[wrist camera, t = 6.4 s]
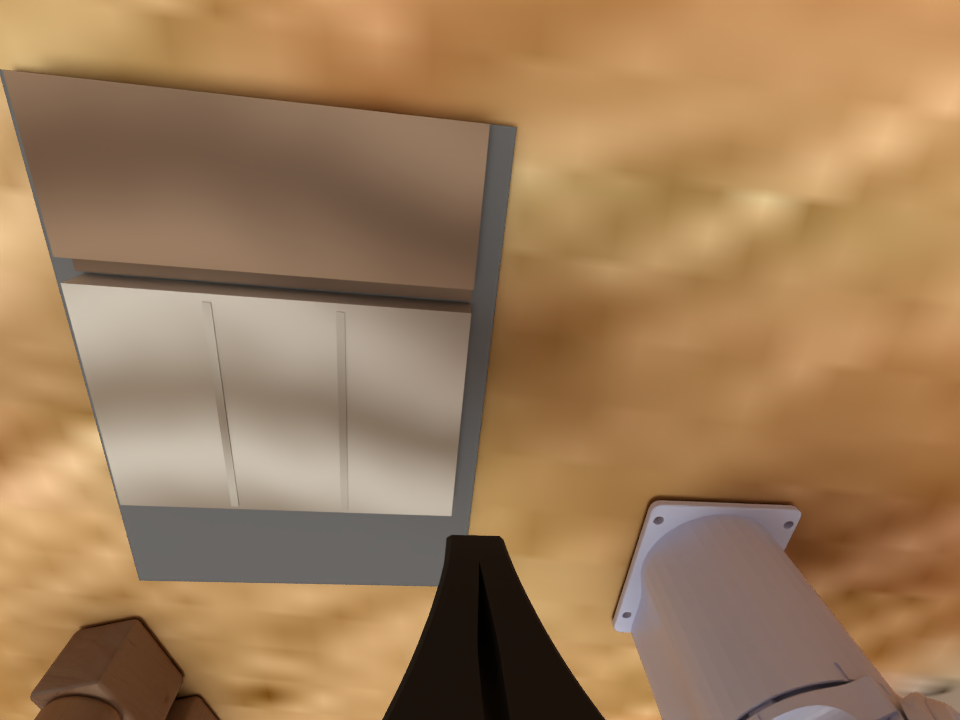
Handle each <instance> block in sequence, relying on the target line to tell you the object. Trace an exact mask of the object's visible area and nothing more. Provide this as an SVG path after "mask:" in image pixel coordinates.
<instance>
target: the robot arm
mask: <svg viewBox="0 0 960 720" xmlns="http://www.w3.org/2000/svg"><path fill="white" fill-rule="evenodd" d="M656 517H659V518H657V519H655V518H656ZM800 518H801V512H800V511H799V510H798V508H797V507H795V506H792V505H769V504H743V503H717V502H691V501H665V500H660V501H655V502H653V503H652V504H651V505H650V507H649V509H648V512H647V515H646V518H645V522H644V525H643V528H642V531H641V534H640V537H639V540H638V543H637V547H636V550H635V553H634V556H633V559H632V562H631V565H630V568H629V572H628V575H627V578H626V581H625V584H624V587H623V590H622V593H621V597H620V600H619V603H618V606H617V609H616V612H615V615H614V618H613V626H614V629H615V630H616V631H618V632H631V634H632V637H633V639H634V642H635V645H636V648H637V650H638V653H639V656H640V659H641V662H642V664H643V667H644V670H645V673H646V676H647V678H648V681H649V684H650V687H651V689H652V692H653V695H654V698H655V701H656V703H657V706H658V709H659V712H660V714H661V717H662V720H960V714H959V713H958V712H957V711H956V710H955V709H954V708H952V707H951V706H950V705H948V704H945V703H943V702H940V701H937V700H934V699H930V698H927V697H926V696H924V695H922V694H920V693H917V692H915V693H910V694H909V695H907V696H906V697H904V698H903V699H902V698H901V697H900V696H898V695H897V694H896V693H895V692H894V691H893V690H892V688H891V687H890V686H889V685H888V683H887V682H886V681H885V679H884V678H883V677H882V676H881V674H880V673H879V672H878V671H877V669H876V668H875V667H874V665H873V664H872V663H871V662H870V660H869V659H868V658H867V657H866V655H865V654H864V653H863V651H862V650H861V649H860V648H859V646H858V645H857V644H856V642H855V641H854V640H853V639H852V637H851V636H850V635H849V634H848V632H847V631H846V630H845V628H844V627H843V626H842V625H841V623H840V622H839V621H838V620H837V618H836V617H835V616H834V614H833V613H832V612H831V611H830V609H829V608H828V607H827V605H826V604H825V603H824V602H823V600H822V599H821V598H820V597H819V595H818V594H817V593H816V591H815V590H814V589H813V588H812V586H811V585H810V584H809V583H808V581H807V580H806V579H805V577H804V576H803V575H802V574H801V572H800V571H799V570H798V568H797V567H796V566H795V565H794V563H793V562H792V561H791V560H790V558H789V557H788V556H787V554H786V553H785V552H784V550H785V548H786V546H787V544H788V542H789V540H790V538H791V536H792V534H793V532H794V530H795V528H796V526H797V524H798V522H799V520H800ZM382 720H605V718H604V717H603V716H602V715H601V713H600V712H599V711H598V709H597V708H596V707H595V705H594V704H593V702H592V701H591V700H590V698H589V697H588V696H587V694H586V693H585V691H584V690H583V689H582V687H581V686H580V684H579V683H578V681H577V680H576V678H575V677H574V675H573V674H572V672H571V671H570V669H569V668H568V666H567V665H566V663H565V662H564V660H563V658H562V657H561V655H560V654H559V652H558V650H557V649H556V647H555V645H554V644H553V642H552V640H551V639H550V637H549V635H548V634H547V632H546V630H545V628H544V627H543V625H542V623H541V621H540V619H539V618H538V616H537V614H536V612H535V610H534V608H533V606H532V604H531V602H530V600H529V598H528V596H527V594H526V592H525V590H524V588H523V586H522V584H521V582H520V580H519V577H518V575H517V573H516V571H515V569H514V566H513V564H512V561H511V559H510V556H509V554H508V551H507V549H506V546H505V543H504V540H503V539H502V538H501V537H500V536H477V535H450V536H449V537H447V538H446V547H445V558H444V565H443V569H442V573H441V577H440V582H439V585H438V588H437V591H436V595H435V598H434V601H433V604H432V608H431V611H430V613H429V616H428V619H427V622H426V624H425V627H424V629H423V632H422V635H421V637H420V640H419V642H418V645H417V647H416V650H415V652H414V654H413V657H412V659H411V661H410V664H409V666H408V668H407V670H406V673H405V675H404V677H403V679H402V681H401V683H400V685H399V688H398V690H397V692H396V694H395V696H394V698H393V700H392V702H391V703H390V705H389V707H388V709H387V711H386V713H385V715H384V717H383V719H382Z"/></svg>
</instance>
